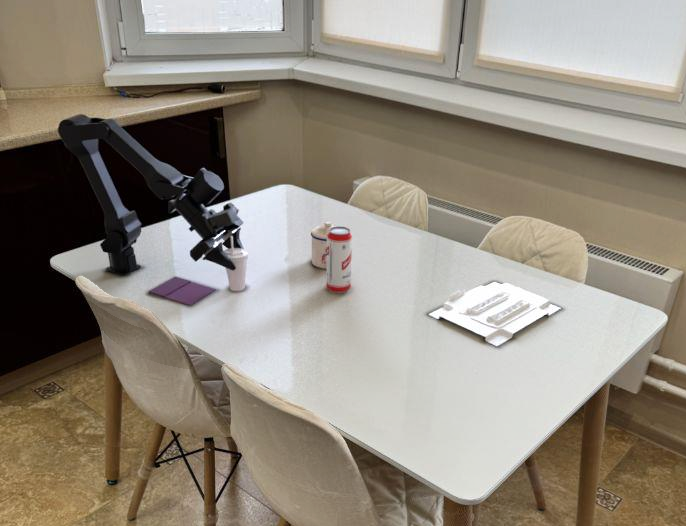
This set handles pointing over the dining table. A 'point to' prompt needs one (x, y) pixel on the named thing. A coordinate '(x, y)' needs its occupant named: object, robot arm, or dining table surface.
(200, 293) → the dish cloth
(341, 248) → the beer can
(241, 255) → the smoothie
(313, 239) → the teacup with lid
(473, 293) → the tray
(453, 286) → the dining table surface
